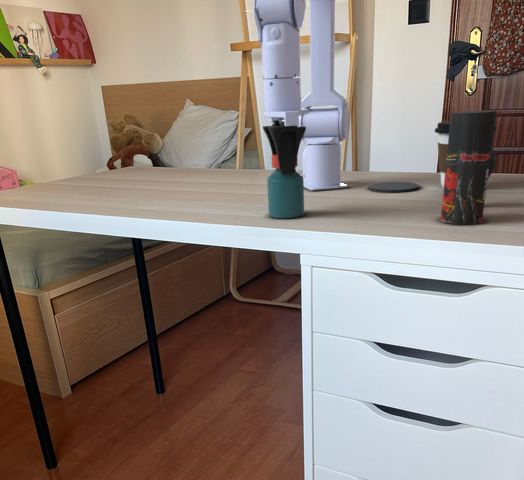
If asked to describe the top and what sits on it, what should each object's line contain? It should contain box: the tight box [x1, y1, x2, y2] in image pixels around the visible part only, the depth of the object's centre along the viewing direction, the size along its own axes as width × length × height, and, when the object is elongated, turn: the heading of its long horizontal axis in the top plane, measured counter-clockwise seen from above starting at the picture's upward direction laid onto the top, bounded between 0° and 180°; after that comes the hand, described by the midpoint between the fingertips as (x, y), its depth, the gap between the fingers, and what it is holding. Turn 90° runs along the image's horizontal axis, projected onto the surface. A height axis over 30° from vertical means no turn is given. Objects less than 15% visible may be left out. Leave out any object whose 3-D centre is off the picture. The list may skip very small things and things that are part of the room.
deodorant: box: [440, 109, 497, 226], centre depth 76 cm, size 6×6×15 cm
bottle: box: [266, 168, 305, 219], centre depth 88 cm, size 6×6×9 cm
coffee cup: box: [434, 120, 497, 190], centre depth 102 cm, size 11×11×12 cm
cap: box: [271, 154, 299, 169], centre depth 86 cm, size 4×4×2 cm
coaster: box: [368, 181, 420, 194], centre depth 108 cm, size 10×10×1 cm
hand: (284, 171), depth 86 cm, fingers closed on cap, 4 cm apart
